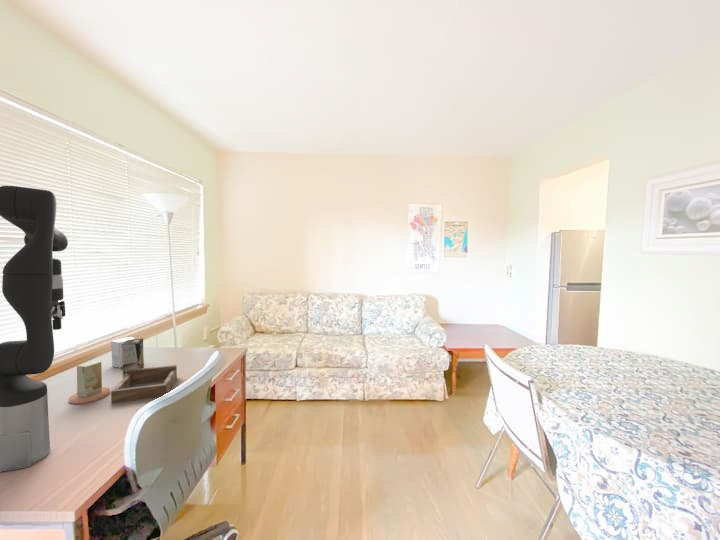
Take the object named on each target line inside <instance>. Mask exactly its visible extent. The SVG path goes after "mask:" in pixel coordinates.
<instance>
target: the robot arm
mask: <svg viewBox="0 0 720 540" xmlns="http://www.w3.org/2000/svg"><path fill="white" fill-rule="evenodd" d="M56 215H57V200H56V196H55V194H54V193H53V191H50V190H46V189H43V188H42V189H40V188H34V187H33V188H32V187H24V186H18V185H1V186H0V217H1V218H2V219H4V220H6V221H7V222H9V223H10V224H12V225H13V226H15V227H17V228H18V229H20V230H21V231H22V232H23V233H24V234H25V235H24V237H23V241H24V246H23V247H21V249H20V250H18V251H17V252H16V253H15V254H14V255H12V257H11V258H9V260H8V261H7V263H5V265H4V267H3V268H2V269H3V270H2V284H1V287H2V288H1V289H2V290H1V291H2V295H3V296H4V299H6V302H7V303H8V304H9V305H10V306H11V307H12V309H13V310H14V312H16V313H17V315H18V316H19V317H20V318H21V320H22V321H23V324H24V327H25V333H26V340H11V341H10V340H9V341H4V342H1V343H0V473H3V472H2V471H4V472H8V471H15V470H19V469H25V468H29V467H31V466H32V465H34V464H36V463H38V462H39V461H41V460H42V459H44V458H45V457H47V456H48V455H49V454H50V452H51V439H50V422H49V399H48V398H49V397H48V385H47V384H46V383H45V381H44V382H43V381H41V380H37V379H33V378H31V377H29V375H31V376H32V375H38V374H39V375H40V374H43V373H45V372H46V371H48V370H49V368H50V367H51V366H52V363H53V361H54V356H55V343H54V341H55V340H54V332H53V330H54V331H57V330H58V331H59V330H61V329H62V319H63V317H65V316H66V303H65V300H64V280H63V275H62V261H61V259H58V258H55V257H54V258H53V252H63V251H65V250H66V249H67V248H68V246H69V240H68V237H67V235H65V233H64V232H62V230H59V229H57V228H55V227H56V225H55V224H56V217H57V216H56Z"/></svg>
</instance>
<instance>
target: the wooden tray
mask: <svg viewBox="0 0 720 540" xmlns="http://www.w3.org/2000/svg"><path fill="white" fill-rule="evenodd" d="M177 366H178V365H177V364H173V365H163V366H155V367H154V366H152V367H144V368H142V369H132V370H128V375H127V376H126V377H125V378H124V379H123V378H122V379H121V381H119V383H118V384H117V385H116V386H115V387H114V388H113V389H112V390H110V398H111V399H110V400H111V401H110V403H111V404H115V403H123V402H130V401H131V402H132V401H138V400H145V399H152V398H160V396H161V397H163V396H162V395H164V394H166V393H167V392H168V393H169V392H170V390H171V388H172V387H173V385H174V384H175V382H176V381H177V377H178V376H177V375H178V374H177V373H178V372H177V371H178V370H177ZM162 380H164V381H163V383H159V384H157V383H156V384H151V385H142V386H133V387H131V386H132V385H137V384H145V383H153V382H161V381H162ZM174 381H175V382H174ZM173 383H174V384H173Z"/></svg>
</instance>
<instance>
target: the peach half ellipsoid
mask: <svg viewBox="0 0 720 540" xmlns="http://www.w3.org/2000/svg"><path fill="white" fill-rule="evenodd" d="M109 394H111V388H109V387H106V386H102V391H101V392H98V393H96V394H93V395H91V396H88V397H86V398H85V397H77V392H76V393H74V394H72V395H70V397H68V402H69V403H70V404H73V405H82V404H83V405H84V404H88V403H93V402H95V401H99V400H101V399H103V398H105V397H107V396H109Z"/></svg>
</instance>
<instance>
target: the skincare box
mask: <svg viewBox="0 0 720 540" xmlns="http://www.w3.org/2000/svg"><path fill="white" fill-rule="evenodd" d="M102 374H103V373H102V361H96V360H92V361H89V362H85V363H83V364H79V365H77V366H76V393H77V397H85V398H86V397H88V396H91V395H93V394H96V393H98V392H101V391H102V387H103V383H102V377H103V376H102Z"/></svg>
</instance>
